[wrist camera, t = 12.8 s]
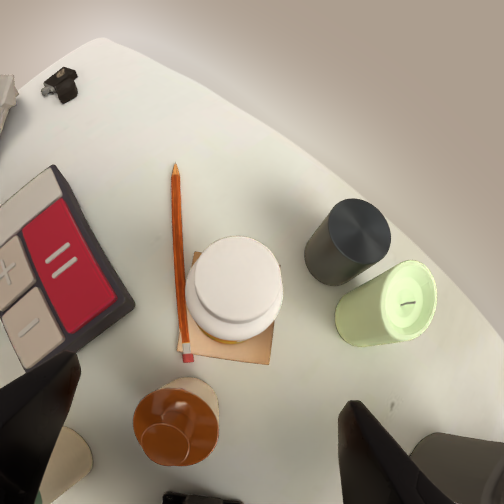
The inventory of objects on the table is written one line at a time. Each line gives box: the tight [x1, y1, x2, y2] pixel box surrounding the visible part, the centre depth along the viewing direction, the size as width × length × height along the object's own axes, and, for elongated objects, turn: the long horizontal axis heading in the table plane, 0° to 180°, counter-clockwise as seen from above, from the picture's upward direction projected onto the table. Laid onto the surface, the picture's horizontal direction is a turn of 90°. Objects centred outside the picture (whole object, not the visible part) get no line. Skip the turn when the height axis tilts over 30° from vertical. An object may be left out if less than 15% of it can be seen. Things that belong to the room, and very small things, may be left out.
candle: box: [335, 260, 437, 347], centre depth 20 cm, size 5×5×8 cm
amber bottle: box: [133, 377, 219, 466], centre depth 15 cm, size 4×4×11 cm
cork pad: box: [177, 252, 280, 365], centre depth 23 cm, size 8×7×1 cm
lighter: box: [41, 67, 78, 104], centre depth 29 cm, size 8×2×5 cm
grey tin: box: [305, 199, 391, 286], centre depth 22 cm, size 5×5×6 cm
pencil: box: [171, 162, 194, 363], centre depth 24 cm, size 1×18×1 cm, turn 8°
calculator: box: [0, 165, 135, 373], centre depth 20 cm, size 11×4×15 cm
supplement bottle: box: [185, 236, 283, 344], centre depth 18 cm, size 5×5×10 cm
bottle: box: [410, 433, 504, 504], centre depth 12 cm, size 6×6×15 cm
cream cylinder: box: [35, 426, 93, 504], centre depth 12 cm, size 5×5×11 cm
